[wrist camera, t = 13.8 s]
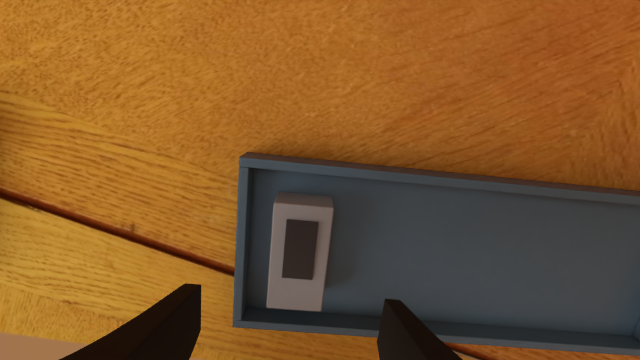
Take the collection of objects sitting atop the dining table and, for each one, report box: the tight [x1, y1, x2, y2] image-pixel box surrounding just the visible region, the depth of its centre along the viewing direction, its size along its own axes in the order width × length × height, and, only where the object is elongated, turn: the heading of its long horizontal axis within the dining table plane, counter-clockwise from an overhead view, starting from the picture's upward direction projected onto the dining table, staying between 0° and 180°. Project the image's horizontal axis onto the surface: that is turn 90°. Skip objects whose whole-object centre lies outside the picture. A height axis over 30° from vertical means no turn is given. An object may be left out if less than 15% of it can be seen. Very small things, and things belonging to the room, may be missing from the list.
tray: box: [233, 152, 640, 356], centre depth 17 cm, size 10×26×2 cm, turn 84°
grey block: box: [266, 192, 334, 312], centre depth 16 cm, size 6×3×2 cm, turn 174°
